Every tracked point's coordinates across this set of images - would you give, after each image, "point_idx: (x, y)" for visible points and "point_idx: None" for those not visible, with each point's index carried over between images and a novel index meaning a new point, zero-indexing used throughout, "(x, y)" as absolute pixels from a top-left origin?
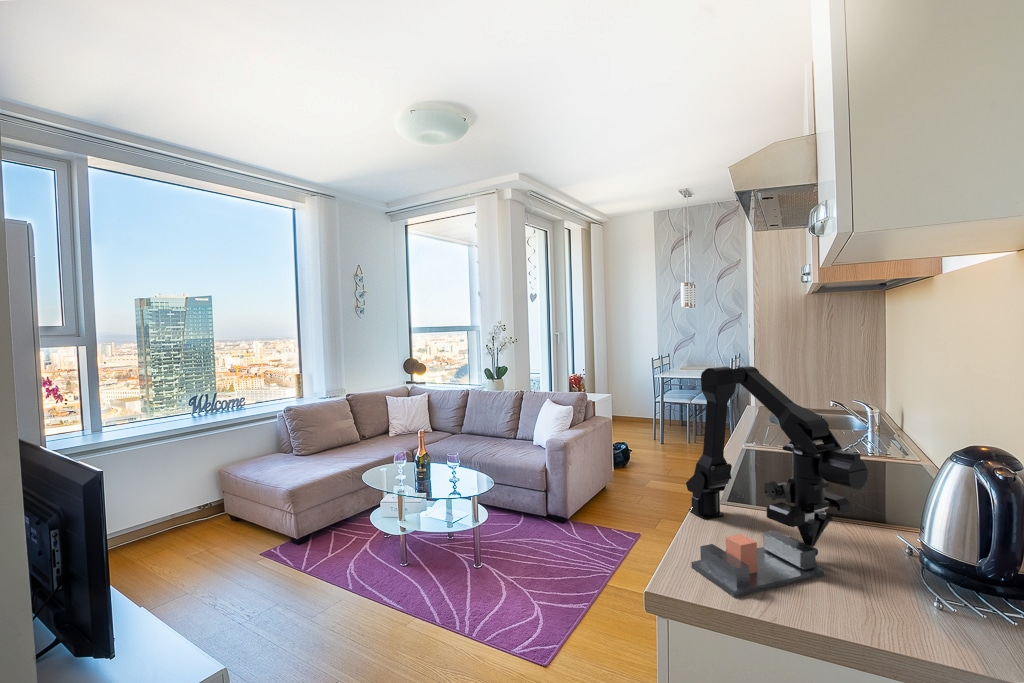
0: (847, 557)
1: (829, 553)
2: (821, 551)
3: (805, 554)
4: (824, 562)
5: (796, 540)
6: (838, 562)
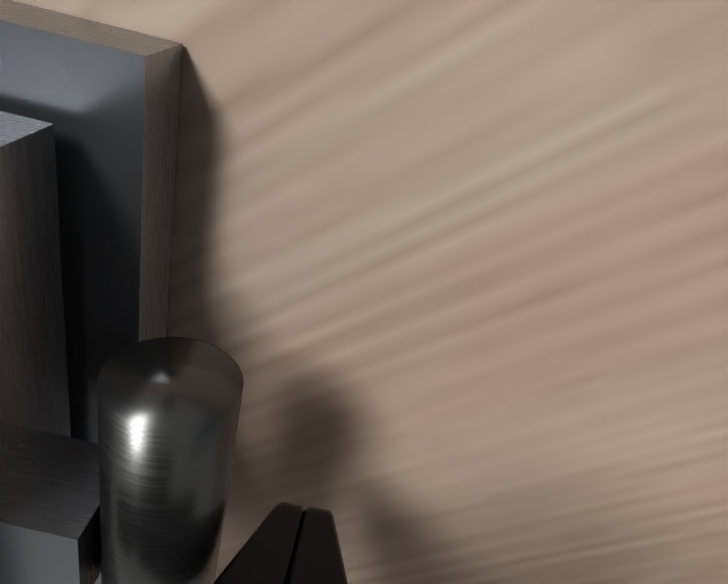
0: (690, 574)
1: (669, 469)
2: (664, 409)
3: None
4: (399, 502)
5: (121, 527)
6: (505, 560)
